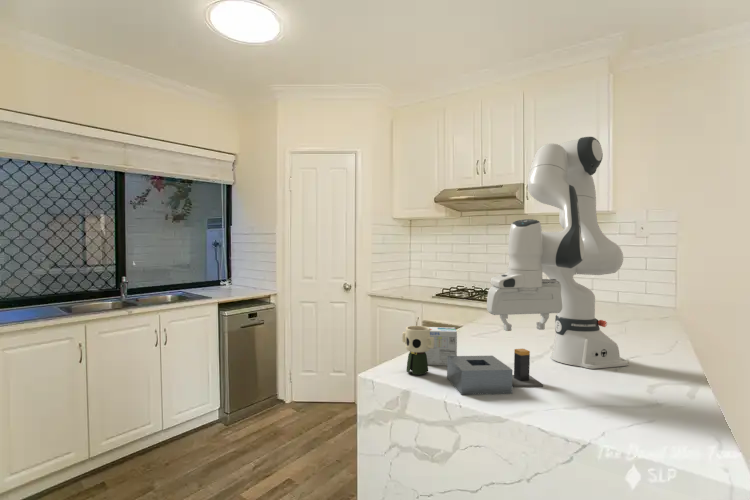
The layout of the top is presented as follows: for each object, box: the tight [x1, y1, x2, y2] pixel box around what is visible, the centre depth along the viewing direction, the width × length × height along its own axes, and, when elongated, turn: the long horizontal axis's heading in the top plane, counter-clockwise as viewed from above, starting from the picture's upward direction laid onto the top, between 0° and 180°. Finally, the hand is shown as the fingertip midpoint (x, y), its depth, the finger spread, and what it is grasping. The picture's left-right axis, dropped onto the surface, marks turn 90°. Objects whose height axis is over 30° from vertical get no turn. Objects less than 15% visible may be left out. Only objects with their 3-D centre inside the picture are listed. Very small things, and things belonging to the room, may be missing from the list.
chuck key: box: [513, 348, 531, 381], centre depth 112 cm, size 3×3×8 cm
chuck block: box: [446, 355, 514, 396], centre depth 111 cm, size 13×18×6 cm
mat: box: [512, 374, 544, 388], centre depth 112 cm, size 8×8×1 cm
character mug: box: [401, 325, 434, 375], centre depth 118 cm, size 11×7×13 cm, turn 49°
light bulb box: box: [425, 326, 458, 366], centre depth 129 cm, size 11×7×11 cm, turn 84°
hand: (524, 329), depth 112 cm, fingers open, 8 cm apart
